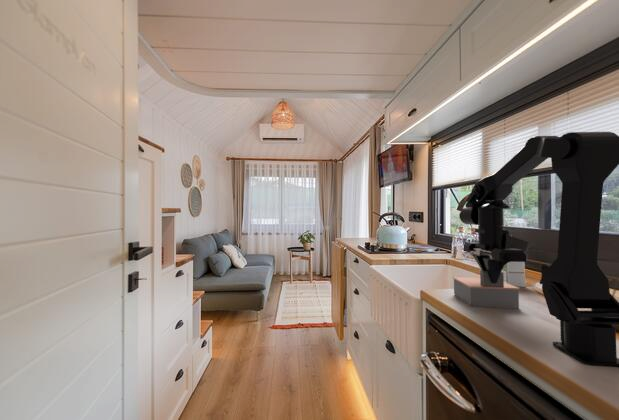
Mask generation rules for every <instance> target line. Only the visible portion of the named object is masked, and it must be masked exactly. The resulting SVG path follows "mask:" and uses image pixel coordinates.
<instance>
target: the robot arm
mask: <svg viewBox="0 0 619 420" xmlns="http://www.w3.org/2000/svg"><path fill="white" fill-rule="evenodd" d="M548 159H550V160H551V169H552V171H553V172H554V173H555V174H556V176H557V177H558V179H559V181H561V184H562V185H561V200H560V213H559V227H558V229H559V230H558V240H557V241H558V242H557V243H558V245H557V255H556V256H557V257H556V258H555V260H554V261H553V262H552V263H543V264H542V265H541V268H540V269H541V270H540V271H541V276H540V277H541V278H540V280H539V285H542V286H541V290H542V294H543V296H544V299H545V303H546V306H547V308H548V312H549V315H551V316H553V317H555V318H556V319H557V320H559V323H560V324H559V325H560V327H559V328H560V341H552V345H553V346H554V347H556V348H557V349H560V350H561V351H562V352H564V353H565V354H567V355H570V356H571V357H573V358H575V359H576V360H578V361H580V363H583V364H586V365H597V366H612V367H619V357H617V356H618V355H617V332H616V331H617V328H616V327H614V326H619V301H618V300H617V299H616V297H614V295H612V294H611V292H610V291H611V290H610V283H609V278H608V277H607V275H606V274H605V272H604V271H603V269H602V268H601V266H600V265H599V264H598V255H599V254H598V253H599V242H600V241H599V239H600V230H601V227H600V226H601V216H602V202H603V192H604V191H603V190H604V189H603V188H604V183H605V181H606V179H608V177H609V176H610V175H611V174H612V173H613V171H615V169H616V168H618V166H619V135H618V134H616V133H615V132H612V131H577V132H576V131H575V132H573V131H570V132H566V133H565V134H562V135H561V136H558V135H536V136H533V137H530V138H528V139H527V140H526V142H525V145H524V146H523V147H522V148H521V149H520V150H519V151H517V153H515V154H514V156H512V157H511V158H510V159H509V160H508V161H506V163H505V164H504V165H502V166H501V167H500V168H499V169H498V170H497V171H496V172H495V173H493V174H491V175H488V176H485V177H483V178H481V179H480V180H478V181H476V183H475V184H474V185H473V187H472V189H471V192H470V194H469V196H468V198H467V199H466V203H465V207H463V208H462V209H461V210H460V211H459V220H460V221H461V222H462V224H464V225H469V226H470V225H471V226H478V228H475V229H474V233H477V234H478V235H477V237H478V242H471V241H470V242H466V243H463V252H466V253H471V252H474V254H471V256H472V257H473V259H474V260H475V261H476V263H477V265H478V267H479V269H480V271H487V272H488V275H489V278H490V280H491V283H497V281H498V278H499V276H500V273H501V271H502V269H503V267H504V265H505V264H507V263H508V262H525V263H528V253H527V251H528V248H529V247H530V243H531V242H530V241H527V240H524V239H521V238H518V237H515V236H513V235H510V232H509V230H508V229H505V228H504V227H505V226H504V225H505V224H504V222H505V220H504V218H505V217H504V210H509V209H510V205H508V204H507V203H505V202H504V201H505V200H506V199H507V198H508V197H509V196H510V194H512V192H513V186H515V184H517V183H518V182H519V181H521V180H522V179H524V177H526V176H527V175H528V174H529V173H530V172H532V171H533V170H534V169H536V168H537V167H539V166H540V165H541V164H542V163H544V162H545V161H546V160H548ZM579 309H591V310H587V311H586V310H579Z"/></svg>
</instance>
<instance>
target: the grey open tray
mask: <svg viewBox="0 0 619 420" xmlns="http://www.w3.org/2000/svg"><path fill="white" fill-rule="evenodd" d="M519 291H520V290H513V289H484V288H469V287H467V286H466V285H464V284H462V283H460V282H458V281H456V280H455V279H453V295H454V294H455V295H456V296H455V295H454V296H455V297H456V298H458V299H459V298H460V300H461V301H462V300H463V302H464V303H466V304H467V305H468V306H469V307H476V308H477V307H480V308H499V309H500V308H501V309H520V299H519Z"/></svg>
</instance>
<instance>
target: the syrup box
mask: <svg viewBox="0 0 619 420" xmlns="http://www.w3.org/2000/svg"><path fill="white" fill-rule="evenodd" d="M525 263H526V262H508V263H507V264H505V265H504V267H503V269H502V271H501V272H503V278H504V282H505V283H508V284H510V285H513V286H515V287H518V288H526V285H527V284H526V265H525Z"/></svg>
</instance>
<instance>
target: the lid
mask: <svg viewBox="0 0 619 420" xmlns="http://www.w3.org/2000/svg"><path fill="white" fill-rule="evenodd" d="M479 274H480V276H479V277H461V276H460V277H458V276H457V277H452V279H453V280H454V279H455V280H456V281H458V282H460V283H462V284H464V285H466V286H467V287H469V288H484V289H513V290H518V291H520V290H521V287H515V286H513V285H510V284H508V283H505V282H504V278H503V272H501V273H500V276H499V278H498V281H497V283H491V280H490V278H489V275H488V272H487V271H482V270H480V273H479Z"/></svg>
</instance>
